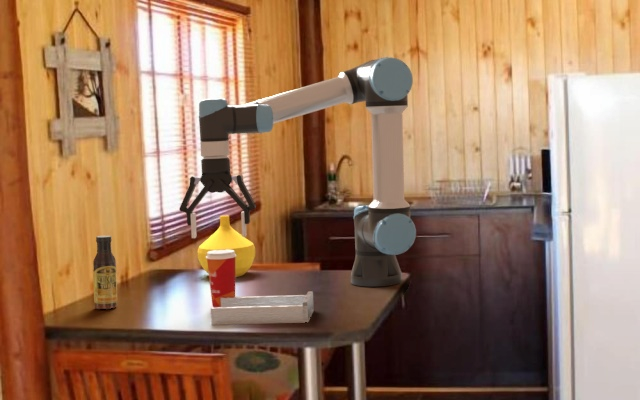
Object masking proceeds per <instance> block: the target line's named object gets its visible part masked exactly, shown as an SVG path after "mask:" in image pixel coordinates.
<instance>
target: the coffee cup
mask: <svg viewBox="0 0 640 400" xmlns="http://www.w3.org/2000/svg"><path fill="white" fill-rule="evenodd" d="M235 257H236V254H235V251H234V250H213V251H209V252H207V256H206V259H207V263H208V272H209V274H208V278H209V279H208V280H209V286H210V287H209V289H210V297H211V303H212V307H221V297H236V277H235Z"/></svg>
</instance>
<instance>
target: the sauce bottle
mask: <svg viewBox="0 0 640 400" xmlns="http://www.w3.org/2000/svg"><path fill="white" fill-rule="evenodd" d="M95 242H96V255H95V256H94V259H93V261H92V262H93V263H92V264H93V269H92V275H93V281H92V282H93V302H94V309H96V310H100V309H106V310H111V308H113V309H116V308H117V306H118V304H117V303H118V284H117V283H118V281H117V280H118V278H117V277H118V276H117V263H116V262H117V261H116V257H115V256H114V254H113V252H112V236H111V235H97V236H95ZM115 307H116V308H115Z"/></svg>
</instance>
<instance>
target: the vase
mask: <svg viewBox="0 0 640 400" xmlns="http://www.w3.org/2000/svg"><path fill="white" fill-rule="evenodd" d="M213 250H234V251H235V254H236V257H235V278H238V277H242V276H244V275H245V274H246V273H247V272H248V271H249V270H250V268H251V266H252V265H253V262H254V259H255V257H256V247H255V245H254V243H253V242H252V241H251V240H249V239H247V238H246V237H242V233H239V232H238V231H237V230H235V229H234V228H233V227H232V226H231V224H230V215H228V214H227V215H226V214H225V215H219V227H218V228H217V230H216V231H215V232H214V233H212V234H211V235H210V236H209V237H208V238H207V239H206V240H204V241H203V242H202V243H201V244H200V245H199V246H198V249H197V259H198V261H199V264H200V265H201V267H202V269H203V270H204V271H205V272H206V274H207V275H209V272H208V263H207V259H206V256H207V252H209V251H213Z"/></svg>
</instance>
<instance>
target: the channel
mask: <svg viewBox="0 0 640 400" xmlns="http://www.w3.org/2000/svg"><path fill="white" fill-rule="evenodd" d="M314 311H315V310H314V291H313V290H312V291H310V290H309V291H307V293H306V294H297V295H296V294H295V295H294V294H292V295H261V296H260V295H256V296H255V295H251V296H235V297H221V307H213V306H211V307H210V320H211V321H210V322H211V325H213V326H216V325H218V326H219V325H251V324H252V325H254V324H255V325H259V324H260V325H261V324H293V323H294V324H301V323H303V324H304V323H305V322H307V323H309V322H310V319H311V318H312V315H313V313H314ZM310 317H311V318H310ZM307 323H306V324H307Z"/></svg>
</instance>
